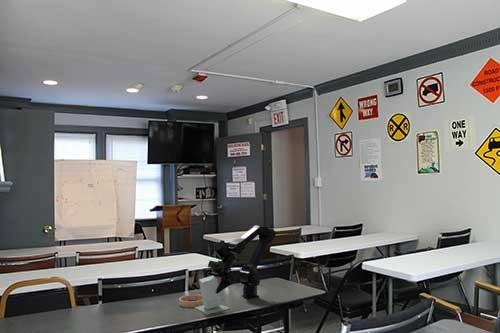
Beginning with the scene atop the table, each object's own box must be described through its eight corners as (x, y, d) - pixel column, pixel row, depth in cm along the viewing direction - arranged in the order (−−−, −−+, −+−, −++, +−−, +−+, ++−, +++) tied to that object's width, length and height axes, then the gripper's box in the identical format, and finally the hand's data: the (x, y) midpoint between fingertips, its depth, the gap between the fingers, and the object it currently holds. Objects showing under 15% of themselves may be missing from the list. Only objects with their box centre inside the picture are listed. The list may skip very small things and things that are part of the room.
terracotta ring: (197, 298, 209) (197, 293, 209) (209, 303, 199) (209, 298, 199) (174, 302, 202) (174, 297, 202) (186, 308, 192) (186, 303, 192)
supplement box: (222, 305, 189) (217, 278, 188) (207, 309, 186) (202, 282, 186) (218, 300, 196) (213, 275, 195) (203, 305, 193) (198, 279, 193)
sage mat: (216, 303, 199) (216, 302, 199) (229, 309, 190) (229, 308, 190) (194, 308, 192) (194, 307, 192) (207, 314, 183) (207, 313, 183)
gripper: (204, 251, 201) (187, 278, 193) (230, 255, 189) (213, 284, 180) (216, 265, 207) (200, 291, 198) (243, 269, 194) (227, 298, 186)
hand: (209, 291), depth 190 cm, fingers closed on supplement box, 9 cm apart
